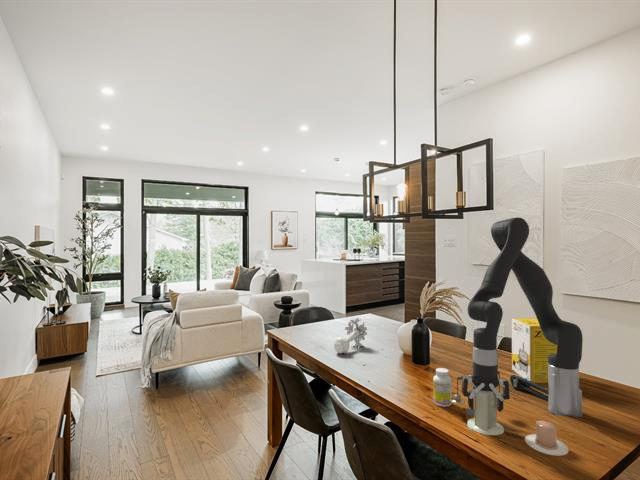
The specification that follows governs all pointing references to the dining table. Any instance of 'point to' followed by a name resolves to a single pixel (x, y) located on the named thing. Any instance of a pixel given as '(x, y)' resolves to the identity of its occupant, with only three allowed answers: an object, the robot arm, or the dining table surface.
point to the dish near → (559, 451)
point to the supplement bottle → (442, 388)
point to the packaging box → (530, 350)
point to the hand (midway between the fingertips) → (485, 409)
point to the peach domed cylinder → (546, 435)
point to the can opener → (528, 386)
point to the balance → (460, 401)
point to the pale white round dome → (493, 431)
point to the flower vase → (350, 337)
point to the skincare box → (485, 410)
